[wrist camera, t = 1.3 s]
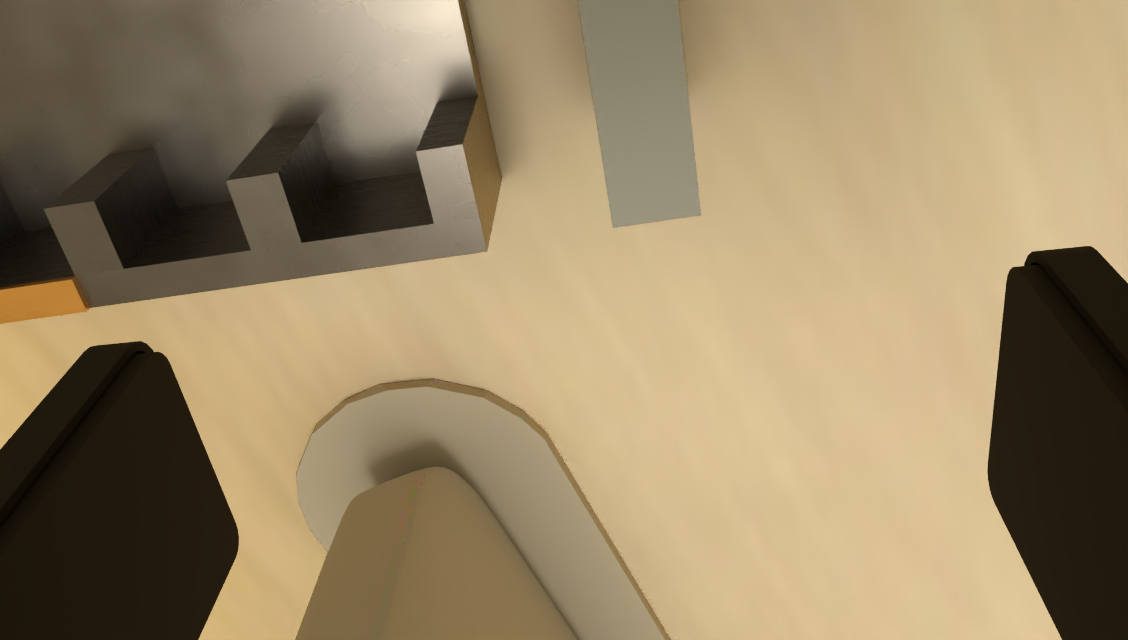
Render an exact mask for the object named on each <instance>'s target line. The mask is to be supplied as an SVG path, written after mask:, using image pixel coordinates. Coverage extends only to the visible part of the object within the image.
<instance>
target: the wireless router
mask: <svg viewBox="0 0 1128 640" xmlns="http://www.w3.org/2000/svg"><path fill="white" fill-rule="evenodd" d="M296 478H297V489H298V500H299V505H300V508H301V510H302V512H303V515H304V517H305V520H306V522H307V525H308V527H309V529H310V531H311V532H312V534H313V535H314V536H315V537H316V539H317V540H318V541H319V542H320V544H321V545H322V546H323V547H324V548H325V550H326V551H327V552H328V554H327V556H326V559H325V561H324V564H323V567H322V569H321V572H320V575H319V577H318V580H317V583H316V585H315V588H314V591H313V593H312V596H311V599H310V601H309V604H308V607H307V609H306V612H305V615H304V617H303V620H302V623H301V625H300V628H299V631H298V634H297V636H296V639H295V640H670V638H669V637H668V635H667V633H666V632H665V630H664V628H663V627H662V625H661V623H660V622H659V620H658V618H657V617H656V615H655V613H654V612H653V610H652V608H651V607H650V605H649V603H648V602H647V600H646V598H645V597H644V595H643V593H642V591H641V590H640V588H639V586H638V585H637V583H636V581H635V580H634V578H633V576H632V575H631V573H630V571H629V570H628V568H627V566H626V565H625V563H624V561H623V560H622V558H621V556H620V555H619V553H618V551H617V550H616V548H615V546H614V545H613V543H612V541H611V540H610V538H609V536H608V535H607V533H606V531H605V530H604V528H603V526H602V525H601V523H600V521H599V520H598V518H597V516H596V514H595V513H594V511H593V509H592V508H591V506H590V504H589V503H588V501H587V499H586V498H585V496H584V494H583V493H582V491H581V489H580V488H579V486H578V484H577V483H576V481H575V479H574V478H573V476H572V474H571V473H570V471H569V469H568V468H567V466H566V464H565V463H564V461H563V459H562V458H561V456H560V454H559V453H558V451H557V449H556V448H555V446H554V444H553V443H552V441H551V439H550V438H549V436H548V434H547V433H546V432H545V431H544V430H543V429H542V428H541V427H540V426H539V425H538V424H536V423H535V422H534V421H533V420H532V419H531V418H530V417H529V416H528V415H527V414H526V413H525V412H524V411H522V410H521V409H519V408H517V407H516V406H514V405H512V404H510V403H509V402H507V401H505V400H503V399H502V398H500V397H498V396H496V395H495V394H493V393H491V392H489V391H486V390H482V389H477V388H473V387H469V386H464V385H460V384H455V383H451V382H447V381H442V380H438V379H425V380H415V381H405V382H395V383H386V384H378V385H376V386H374V387H372V388H369V389H367V390H365V391H363V392H361V393H359V394H357V395H354V396H352V397H350V398H348V399H346V400H344V401H342V402H341V403H340V404H339V405H338V406H337V407H335V408H334V409H333V410H332V411H331V412H330V413H329V414H327V415H326V416H325V417H324V418H323V419H322V420H321V421H319V422H318V423H317V425H316V427H315V429H314V431H313V433H312V435H311V437H310V440H309V442H308V445H307V447H306V449H305V452H304V454H303V456H302V459H301V461H300V464H299V467H298V470H297V473H296Z"/></svg>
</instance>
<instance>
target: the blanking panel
mask: <svg viewBox="0 0 1128 640" xmlns="http://www.w3.org/2000/svg"><path fill="white" fill-rule="evenodd" d="M577 1H578V8H579V14H580V21H581V27H582V33H583V40H584V46H585V52H586V59H587V65H588V72H589V78H590V84H591V91H592V97H593V103H594V110H595V116H596V123H597V129H598V135H599V142H600V148H601V155H602V161H603V167H604V174H605V180H606V186H607V193H608V199H609V206H610V212H611V218H612V225H613V228H615V227H622V226H629V225H636V224H643V223H650V222H657V221H664V220H671V219H678V218H685V217H692V216H699V215H701V210H700V201H699V192H698V182H697V173H696V163H695V154H694V145H693V135H692V126H691V117H690V107H689V98H688V88H687V79H686V70H685V60H684V51H683V41H682V32H681V23H680V13H679V4H678V0H577Z"/></svg>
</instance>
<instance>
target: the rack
mask: <svg viewBox="0 0 1128 640" xmlns="http://www.w3.org/2000/svg"><path fill="white" fill-rule="evenodd" d="M501 181H502V178H501V173H500V168H499V164H498V159H497V154H496V150H495V145H494V140H493V135H492V131H491V126H490V121H489V117H488V112H487V107H486V103H485V98H484V93H483V89H482V84H481V79H480V75H479V70H478V65H477V60H476V56H475V51H474V46H473V42H472V37H471V32H470V28H469V23H468V18H467V14H466V9H465V4H464V0H0V324H2V323H9V322H16V321H23V320H30V319H37V318H44V317H51V316H58V315H65V314H72V313H79V312H86V311H88V310H89V308H92V307H100V306H107V305H114V304H121V303H128V302H135V301H142V300H149V299H156V298H163V297H170V296H177V295H184V294H191V293H198V292H205V291H212V290H219V289H226V288H233V287H240V286H247V285H254V284H261V283H268V282H275V281H283V280H290V279H297V278H304V277H311V276H318V275H325V274H332V273H339V272H346V271H353V270H360V269H367V268H374V267H381V266H388V265H395V264H402V263H409V262H416V261H423V260H430V259H437V258H444V257H451V256H458V255H465V254H473V253H480V252H487V250H488V245H489V240H490V235H491V230H492V225H493V220H494V215H495V211H496V206H497V201H498V196H499V191H500V186H501Z"/></svg>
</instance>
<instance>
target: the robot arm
mask: <svg viewBox="0 0 1128 640" xmlns="http://www.w3.org/2000/svg"><path fill="white" fill-rule="evenodd" d="M988 481H989V487H990V491H991V495H992V498H993V500H994V503H995V505H996V507H997V509H998V511H999V513H1000V515H1001V517H1002V519H1003V521H1004V523H1005V525H1006V527H1007V529H1008V531H1009V533H1010V535H1011V537H1012V539H1013V541H1014V543H1015V545H1016V547H1017V549H1018V551H1019V553H1020V555H1021V557H1022V559H1023V561H1024V563H1025V565H1026V567H1027V569H1028V571H1029V573H1030V575H1031V577H1032V579H1033V581H1034V584H1035V586H1036V588H1037V590H1038V592H1039V594H1040V596H1041V598H1042V600H1043V602H1044V604H1045V606H1046V608H1047V610H1048V612H1049V614H1050V616H1051V618H1052V620H1053V622H1054V624H1055V626H1056V628H1057V630H1058V632H1059V634H1060V636H1061V638H1062V640H1128V283H1127V282H1126V281H1125V280H1124V279H1123V278H1122V277H1121V276H1120V275H1119V274H1118V273H1117V272H1116V270H1115V269H1114V268H1113V267H1112V266H1111V265H1110V264H1109V263H1108V262H1107V261H1106V260H1105V259H1104V258H1103V257H1102V255H1101V254H1100V253H1099V252H1098V251H1097V250H1096V249H1094V248H1093V247H1091V246H1084V247H1074V248H1064V249H1054V250H1044V251H1035V252H1031V253H1030V254H1029V255H1028V257H1027V259H1026V261H1025V264H1024V266H1021V267H1013V268H1012V269H1011V270H1010V271H1009V274H1008V277H1007V282H1006V292H1005V302H1004V312H1003V321H1002V331H1001V341H1000V351H999V361H998V370H997V380H996V390H995V400H994V410H993V420H992V429H991V439H990V449H989V459H988ZM238 545H239V536H238V529H237V526H236V523H235V520H234V518H233V515H232V513H231V510H230V508H229V506H228V503H227V501H226V498H225V496H224V493H223V491H222V489H221V486H220V484H219V481H218V479H217V476H216V474H215V472H214V469H213V467H212V464H211V462H210V459H209V457H208V455H207V452H206V450H205V447H204V445H203V442H202V440H201V438H200V435H199V433H198V430H197V428H196V425H195V423H194V421H193V418H192V416H191V413H190V411H189V408H188V406H187V404H186V401H185V399H184V396H183V394H182V391H181V389H180V387H179V384H178V382H177V379H176V377H175V374H174V372H173V370H172V367H171V365H170V363H169V361H168V359H167V358H166V357H165V356H164V354H162V353H160V352H153V350H152V349H151V348H150V347H149V346H148V345H147V344H146V343H144V342H141V341H138V342H128V343H118V344H108V345H98V346H92V347H90V348H88V349H87V350H86V351H84V353H83V354H82V355H81V356H80V357H79V358H78V360H77V361H76V362H75V363H74V364H73V365H72V367H71V368H70V369H69V370H68V371H67V372H66V374H65V375H64V376H63V377H62V378H61V379H60V381H59V382H58V383H57V384H56V385H55V386H54V388H53V389H52V390H51V391H50V392H49V393H48V395H47V396H46V397H45V398H44V399H43V400H42V402H41V403H40V404H39V405H38V406H37V407H36V409H35V410H34V411H33V412H32V413H31V414H30V416H29V417H28V418H27V419H26V420H25V421H24V423H23V424H22V425H21V426H20V427H19V428H18V430H17V431H16V432H15V433H14V434H13V435H12V437H11V438H10V439H9V440H8V441H7V442H6V444H5V445H4V446H3V447H2V448H1V449H0V640H198V639H199V637H200V634H201V632H202V630H203V628H204V626H205V624H206V621H207V619H208V617H209V615H210V613H211V611H212V608H213V606H214V604H215V602H216V600H217V597H218V595H219V593H220V591H221V589H222V587H223V584H224V582H225V580H226V578H227V576H228V574H229V571H230V569H231V567H232V565H233V563H234V560H235V558H236V555H237V552H238Z"/></svg>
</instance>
